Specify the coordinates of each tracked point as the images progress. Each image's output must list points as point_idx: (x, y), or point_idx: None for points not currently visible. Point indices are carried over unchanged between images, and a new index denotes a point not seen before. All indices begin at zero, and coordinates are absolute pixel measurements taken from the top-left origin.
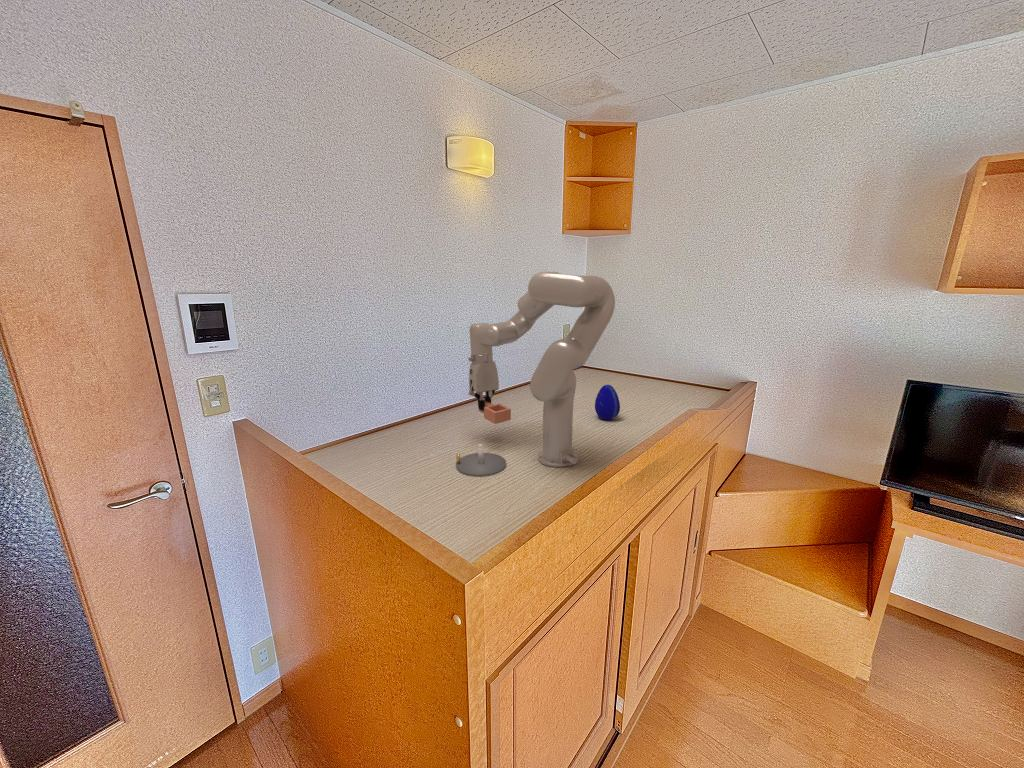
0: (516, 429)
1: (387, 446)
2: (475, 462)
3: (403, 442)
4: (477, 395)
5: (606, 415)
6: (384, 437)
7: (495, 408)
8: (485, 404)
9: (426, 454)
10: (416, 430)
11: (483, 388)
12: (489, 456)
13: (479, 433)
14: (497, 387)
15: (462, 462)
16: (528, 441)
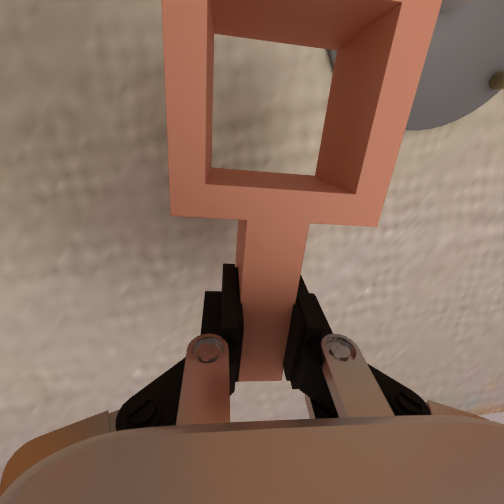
0: (50, 230)
1: (454, 354)
2: (457, 24)
3: (413, 354)
4: (400, 399)
5: None
6: None
7: (252, 180)
8: (295, 288)
9: (451, 251)
10: None
11: (455, 494)
12: None
13: (208, 287)
14: (60, 464)
15: (481, 75)
16: (71, 62)
